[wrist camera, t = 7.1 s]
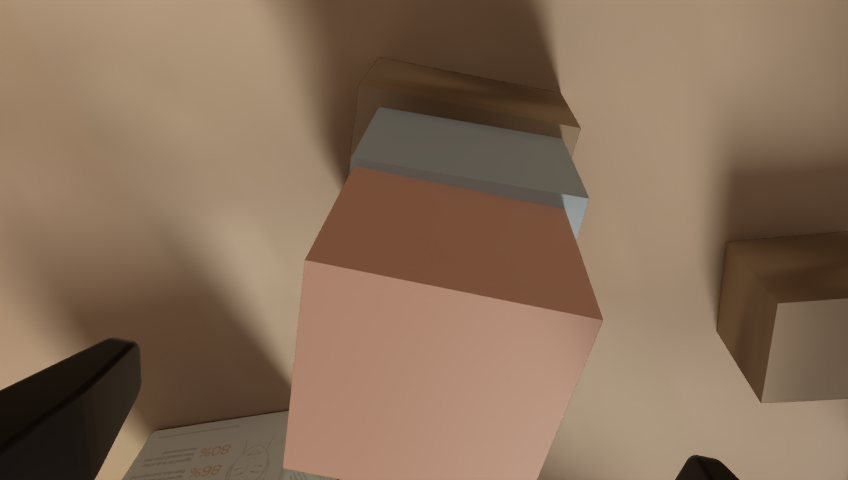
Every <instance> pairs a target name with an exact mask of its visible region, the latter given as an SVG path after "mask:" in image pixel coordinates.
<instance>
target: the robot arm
mask: <svg viewBox="0 0 848 480" xmlns="http://www.w3.org/2000/svg"><path fill="white" fill-rule="evenodd" d="M140 387H141V362H140V348H139V345H138V344H137V343H136V342H134V341H129V340H125V339H120V338H108V339H106V340H104V341H102V342H99V343H97V344H95V345H93V346H91V347H89V348H87V349H85V350H83V351H81V352H79V353H77V354H75V355H73V356H71V357H68V358H66V359H64V360H62V361H60V362H58V363H56V364H54V365H52V366H50V367H48V368H46V369H44V370H42V371H40V372H37V373H35V374H33V375H31V376H29V377H27V378H25V379H23V380H21V381H19V382H17V383H15V384H13V385H11V386H9V387H6V388H4V389H2V390H0V480H95V478H96V476H97V474H98V472H99V470H100V469H101V467H102V465H103V463H104V461H105V459H106V457H107V455H108V453H109V451H110V449H111V447H112V445H113V443H114V441H115V439H116V437H117V435H118V433H119V431H120V429H121V427H122V425H123V423H124V421H125V419H126V417H127V415H128V414H129V412H130V410H131V408H132V406H133V404H134V402H135V400H136V398H137V396H138V393H139V390H140ZM675 480H739V479H738V478H737V477H736V476H735V475H734V474H733V473H732V472H731V471H730V470H729V469H728V468H727V467H726V466H725V465H724V464H723V463H722V462H720V461H719V460H717V459H714V458H709V457H704V456H699V455H693V456H691V457H689V458H688V460H687V461H686V463H685V464H684V466H683V468H682V469H681V471H680V473H679V474H678V476H677V478H676V479H675Z"/></svg>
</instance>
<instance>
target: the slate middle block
mask: <svg viewBox="0 0 848 480" xmlns="http://www.w3.org/2000/svg"><path fill="white" fill-rule="evenodd" d="M354 166H358V167H363V168H368V169H373V170H378V171H382V172H387V173H392V174H397V175H402V176H407V177H412V178H416V179H421V180H426V181H431V182H436V183H441V184H446V185H450V186H455V187H460V188H465V189H470V190H475V191H480V192H484V193H489V194H494V195H499V196H504V197H509V198H514V199H518V200H523V201H528V202H533V203H538V204H543V205H548V206H552V207H557V208H562V209H565V211H566V213H567V216H568V219H569V222H570V225H571V228H572V231H573V234H574V237H575V240H576V239H577V236H578V233H579V229H580V226H581V223H582V220H583V217H584V214H585V211H586V208H587V204H588V201H589V197H588V195H587V192H586V190H585V188H584V186H583V183H582V181H581V179H580V177H579V174H578V172H577V170H576V168H575V165H574V163H573V161H572V159H571V156H570V154H569V152H568V149H567V147H566V145H565V143H564V140H563V139H562V138H556V137H550V136H545V135H539V134H533V133H527V132H522V131H516V130H510V129H504V128H498V127H493V126H487V125H481V124H475V123H470V122H464V121H458V120H452V119H447V118H441V117H435V116H429V115H424V114H418V113H412V112H406V111H400V110H395V109H389V108H383V107H379V108H378V110H377V111H376V113H375V115H374V117H373V119H372V121H371V122H370V124H369V126H368V128H367V130H366V132H365V133H364V135H363V137H362V139H361V141H360V143H359V144H358V146H357V148H356V150H355V152H354V153H353V155H352V157H351V165H350V173H351V171H352V169H353V167H354Z"/></svg>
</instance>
